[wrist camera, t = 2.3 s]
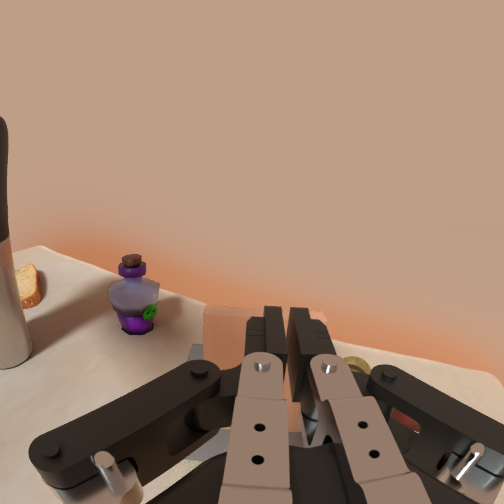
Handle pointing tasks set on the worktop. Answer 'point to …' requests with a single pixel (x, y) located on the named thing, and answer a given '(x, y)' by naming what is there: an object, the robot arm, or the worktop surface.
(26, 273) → the slice of bread
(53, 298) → the worktop surface
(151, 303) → the potion bottle
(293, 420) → the tile
